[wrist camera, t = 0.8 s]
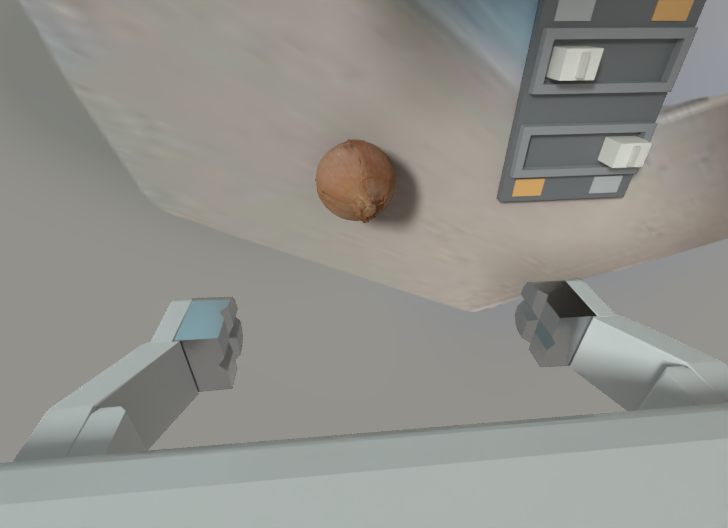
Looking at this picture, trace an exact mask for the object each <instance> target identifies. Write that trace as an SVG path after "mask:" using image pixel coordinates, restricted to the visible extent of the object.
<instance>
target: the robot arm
mask: <svg viewBox="0 0 728 528" xmlns="http://www.w3.org/2000/svg"><path fill="white" fill-rule="evenodd" d="M521 294H522V296H523V298H524V300H523V301H522V302H521V303H520V304H519V305H518V306H517V310H516V313H515V322H516V327H517V330H518V332H519V334H520V335H521V337H522V338H524V339H525V340H527V341H528V342H530V347H529V350H530V352H531V353H532V355H533V356H534V358H535V360H536V361H537V363H538V365H539V366H540V367H555V366H570V368H571V369H572V370H574V371H575V372H576V373H578V374H579V375H580V376H582V377H583V378H585V379H586V380H587V381H588V382H590V383H591V384H592V385H594V386H595V387H596V388H598V389H599V390H601V391H602V392H603V393H604V394H606V395H607V396H608V397H610V398H611V399H612V400H614V401H615V402H616V403H618V404H619V405H620V406H622V407H623V408H624V409H626V410H627V411H625V412H613V413H600V414H590V415H589V414H588V415H576V416H564V417H552V418H539V419H527V420H515V421H504V422H492V423H491V422H490V423H479V424H467V425H454V426H442V427H430V428H418V429H405V430H394V431H381V432H369V433H357V434H344V435H333V436H322V437H321V436H320V437H308V438H296V439H284V440H273V441H259V442H247V443H235V444H223V445H212V446H199V447H186V448H174V449H162V450H150V451H148V450H149V448H150V447H151V446H152V445H153V444H154V443H155V442H156V441H157V439H158V438H159V437H160V436H161V435H162V434H163V433H164V432H165V431H166V430H167V428H168V427H169V426H170V425H171V424H172V423H173V422H174V421H175V419H176V418H177V417H178V416H179V415H180V414H181V413H182V412H183V411H184V410H185V408H186V407H187V406H188V405H189V404H190V403H191V402H192V401H193V400H194V399H195V397H196V396H197V395H198V394H199V393H198V392H203V391H212V390H224V389H232V388H233V385H234V380H235V376H236V372H237V365H236V360H235V359H237V358H238V357H239V356H240V354H241V350H242V342H243V341H242V340H243V333H242V326H241V322H240V320H239V319H237V318H236V313H237V309H238V308H237V304H236V301H235V299H234V298H233V297H217V298H216V297H215V298H214V297H213V298H195V299H194V298H188V299H175V300H173V301H172V302H171V303H170V305H169V307H168V309H167V311H166V313H165V315H164V317H163V319H162V321H161V323H160V325H159V327H158V329H157V330H156V332H155V334H154V336H153V338H152V340H151V342H150V343H144V344H142V345H141V346H139V347H138V348H137V349H135V350H134V351H132V352H131V353H129V354H128V355H126V356H125V357H124V358H122V359H121V360H119V361H118V362H116V363H115V364H114V365H112V366H111V367H109V368H108V369H106V370H105V371H103V372H102V373H100V374H99V375H98V376H96V377H95V378H93V379H92V380H90V381H89V382H88V383H86V384H85V385H83V386H82V387H80V388H79V389H77V390H76V391H75V392H73V393H72V394H70V395H69V396H67V397H66V398H65V399H63V400H62V401H60V402H59V403H57V404H56V405H54V406H53V407H51V408H50V409H49V410H48V411H47V412H46V413H45V415H44V416H43V418H42V419H41V421H40V422H39V424H38V425H37V427H36V428H35V430H34V431H33V432H32V434H31V435H30V437H29V439H28V440H27V441H26V443H25V444H24V446H23V447H22V449H21V450H20V451H19V453H18V455H17V456H16V457H15V459H14V460H13V462H5V463H0V528H728V366H727V365H725V364H724V363H723V362H722V361H719V360H717V359H715V358H713V357H711V356H709V355H706V354H704V353H702V352H700V351H698V350H696V349H694V348H692V347H689V346H687V345H685V344H683V343H681V342H679V341H676V340H674V339H672V338H670V337H668V336H666V335H664V334H662V333H659V332H657V331H655V330H653V329H651V328H648V327H647V326H644V325H642V324H640V323H638V322H636V321H634V320H631V319H629V318H627V317H625V316H623V315H618V316H617V315H616V314H615V313H614V312H613V311H612V310H611V309H610V308H609V307H608V306H607V305H606V304H605V303H604V302H603V301H602V300H601V299H600V298H599V297H598V296H597V295H596V293H595V292H594V291H593V290H592V289H591V288H590V287H589V286H588V285H587V284H586V283H585V282H584V281H582V280H580V279H569V280H561V281H545V282H527V283H526V284H525V286H524V287H523V290H522V293H521Z"/></svg>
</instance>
